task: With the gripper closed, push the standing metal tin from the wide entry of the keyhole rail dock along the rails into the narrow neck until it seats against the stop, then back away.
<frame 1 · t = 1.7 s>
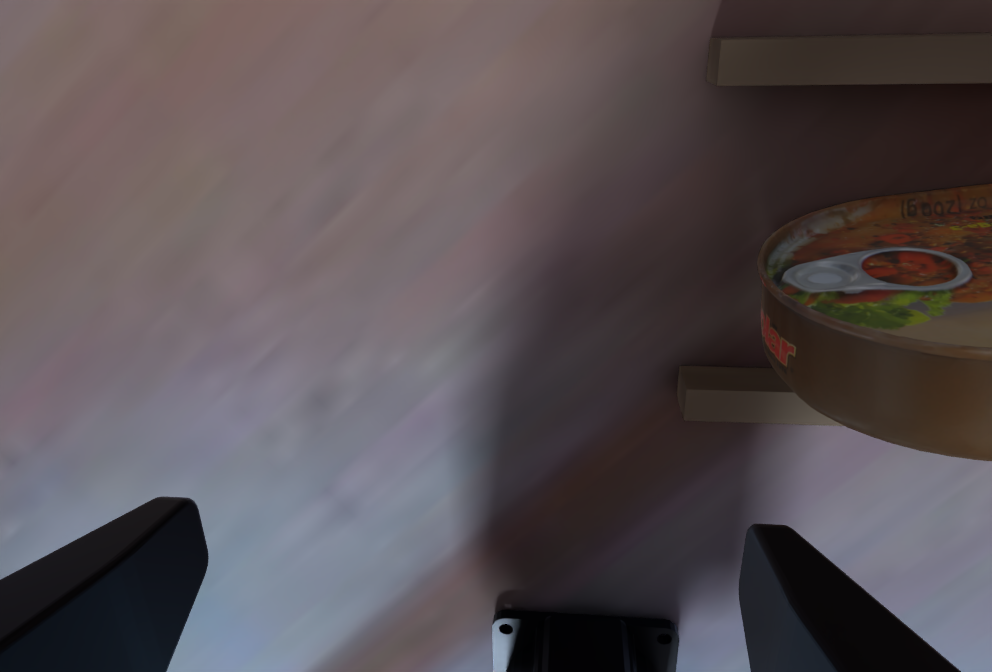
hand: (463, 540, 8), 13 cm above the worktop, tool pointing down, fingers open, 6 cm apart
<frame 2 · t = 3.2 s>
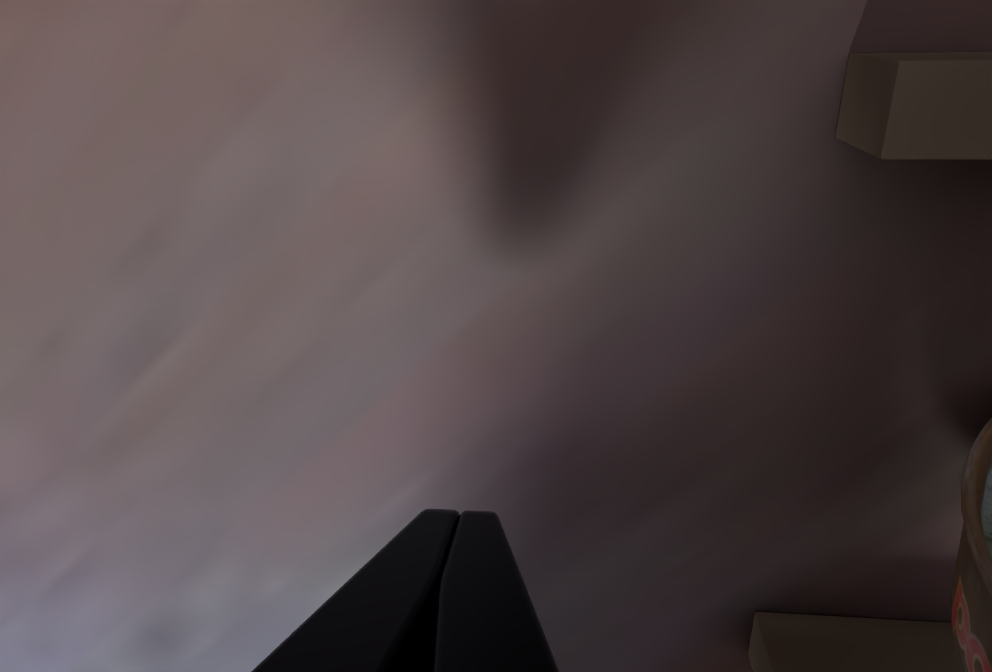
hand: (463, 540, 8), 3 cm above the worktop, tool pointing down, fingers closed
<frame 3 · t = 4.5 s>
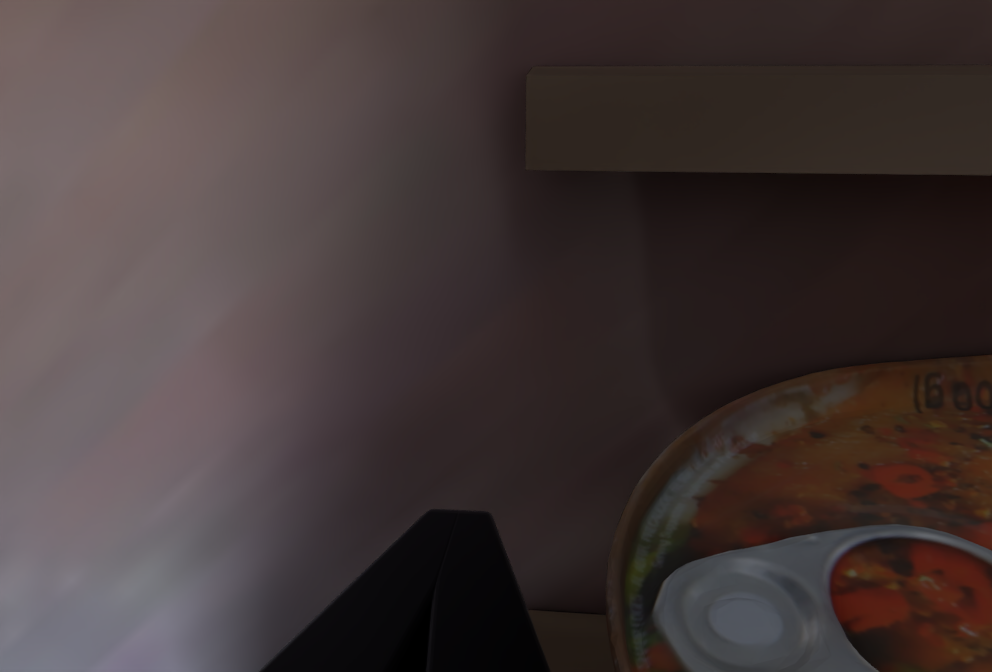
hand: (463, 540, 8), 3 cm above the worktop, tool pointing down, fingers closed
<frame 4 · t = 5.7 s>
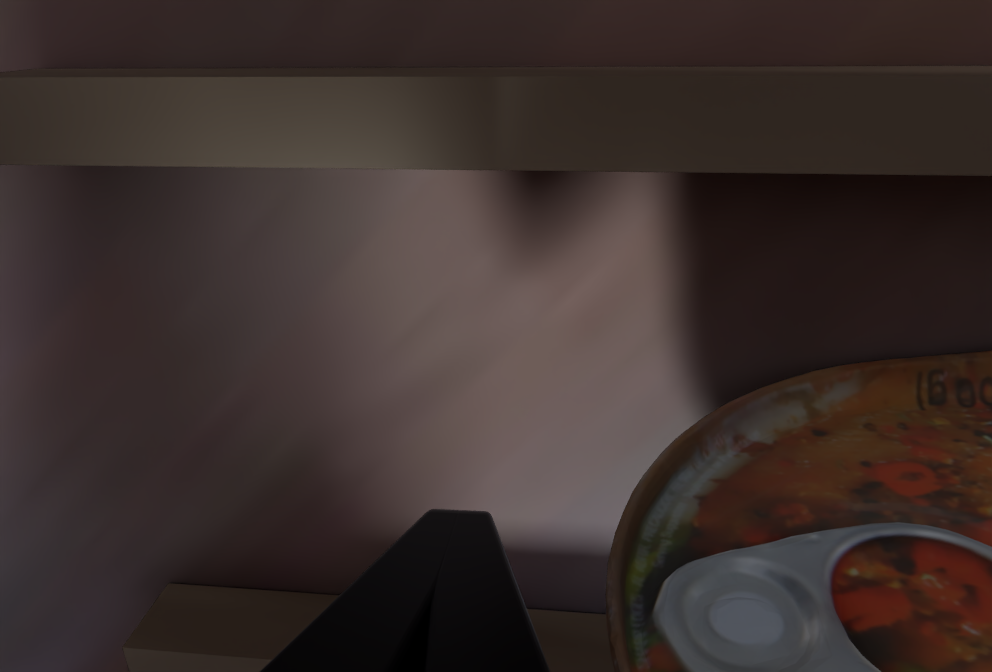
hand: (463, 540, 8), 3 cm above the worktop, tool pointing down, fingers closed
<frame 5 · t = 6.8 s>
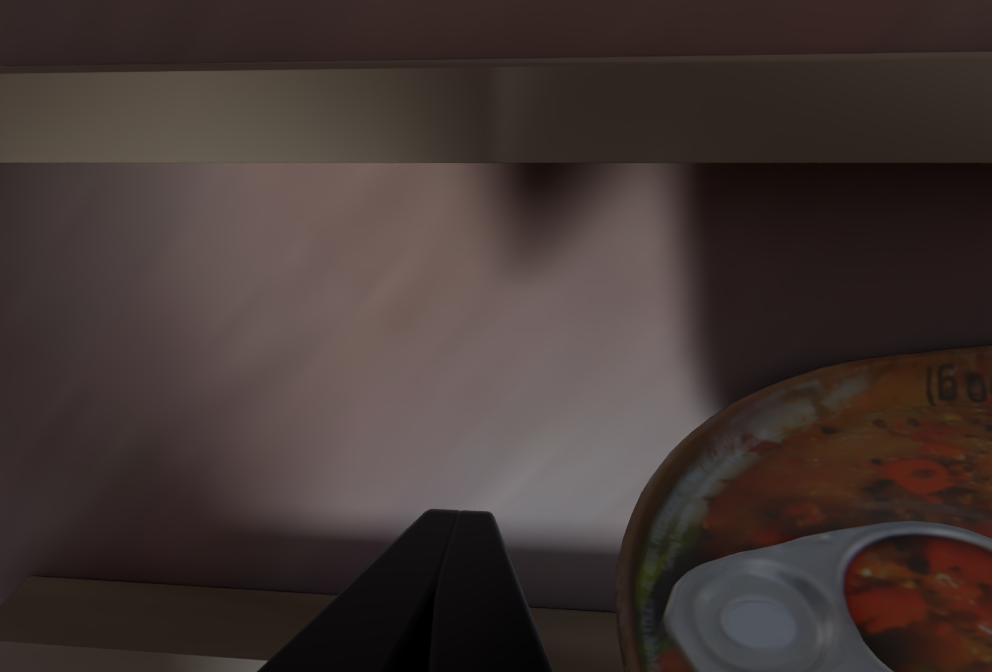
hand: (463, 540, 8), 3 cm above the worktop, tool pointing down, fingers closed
dock: (806, 418, 11), on the worktop
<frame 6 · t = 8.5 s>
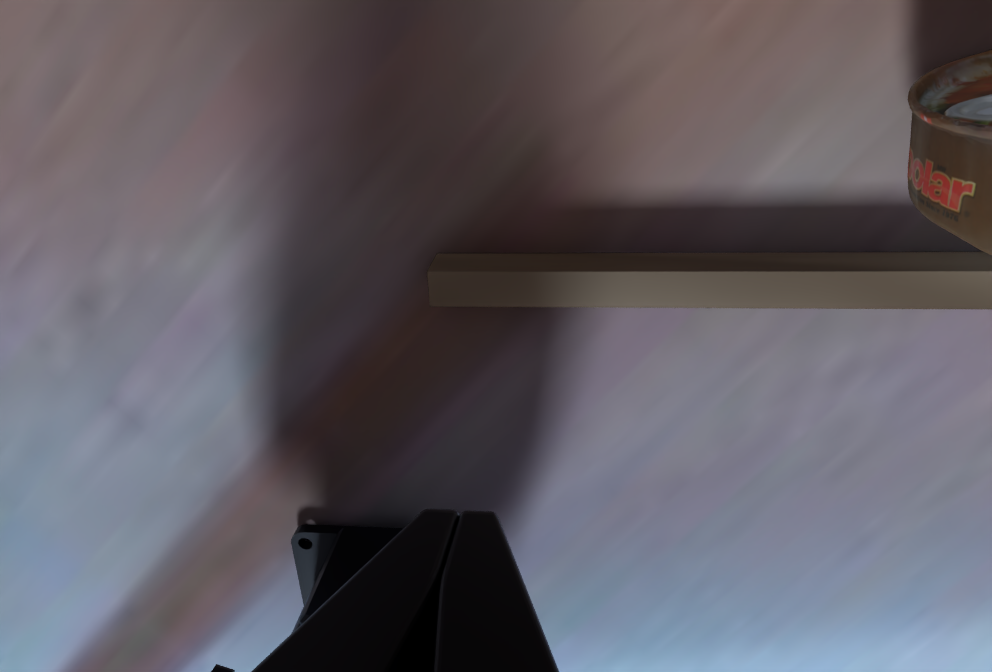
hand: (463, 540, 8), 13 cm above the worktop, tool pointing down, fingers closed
dock: (979, 92, 17), on the worktop
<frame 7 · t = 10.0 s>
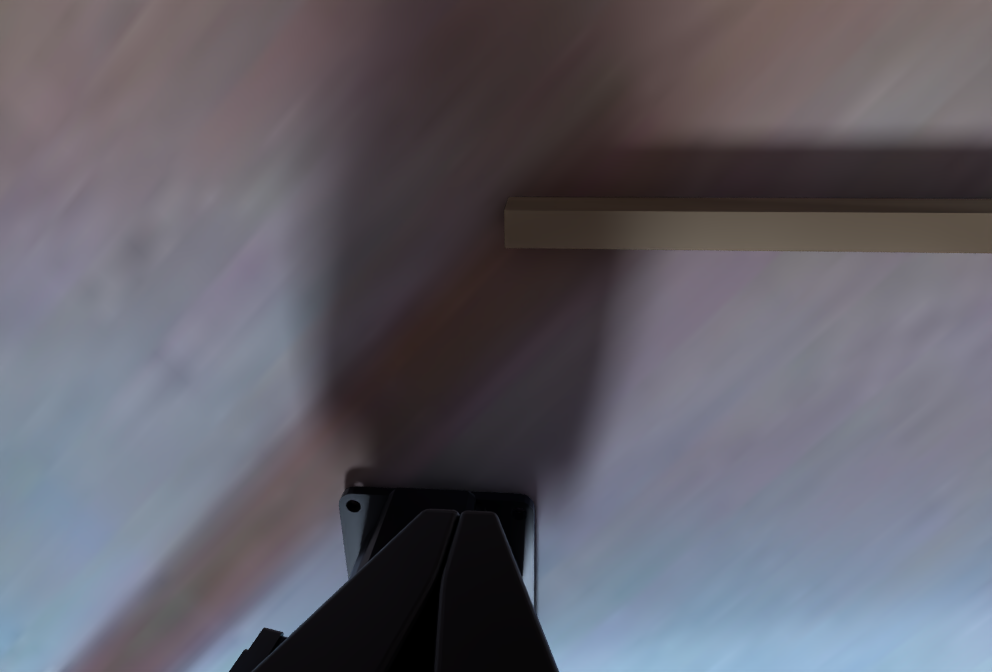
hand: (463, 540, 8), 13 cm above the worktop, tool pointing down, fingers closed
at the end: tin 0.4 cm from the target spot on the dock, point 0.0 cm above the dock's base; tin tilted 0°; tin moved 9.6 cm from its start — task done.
